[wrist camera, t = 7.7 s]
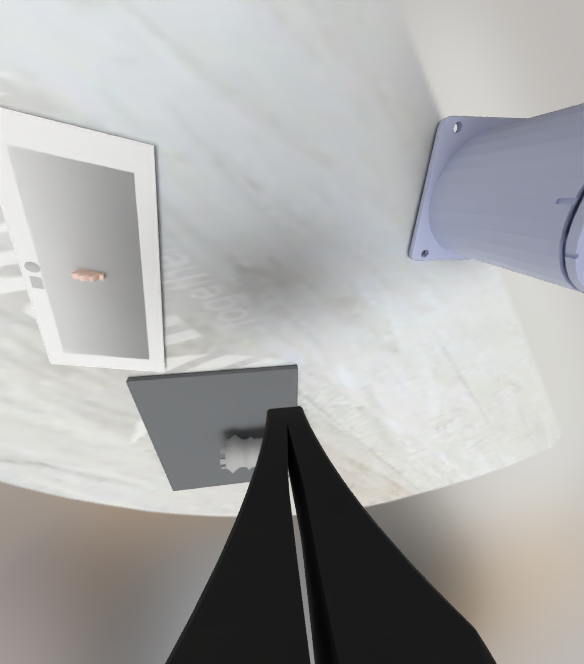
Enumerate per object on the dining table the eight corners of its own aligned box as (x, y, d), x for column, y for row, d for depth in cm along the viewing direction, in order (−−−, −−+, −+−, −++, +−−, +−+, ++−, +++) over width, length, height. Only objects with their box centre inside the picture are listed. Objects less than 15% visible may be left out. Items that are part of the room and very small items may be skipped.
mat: (297, 365, 22) (297, 368, 21) (295, 471, 30) (296, 476, 29) (128, 377, 20) (126, 381, 20) (174, 486, 28) (173, 491, 28)
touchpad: (160, 148, 14) (145, 142, 12) (169, 364, 21) (160, 381, 19) (-11, 106, 12) (-60, 90, 10) (60, 355, 19) (39, 372, 17)
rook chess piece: (310, 489, 22) (220, 493, 22) (306, 451, 26) (231, 453, 26) (310, 449, 21) (214, 453, 20) (306, 415, 25) (226, 418, 25)
